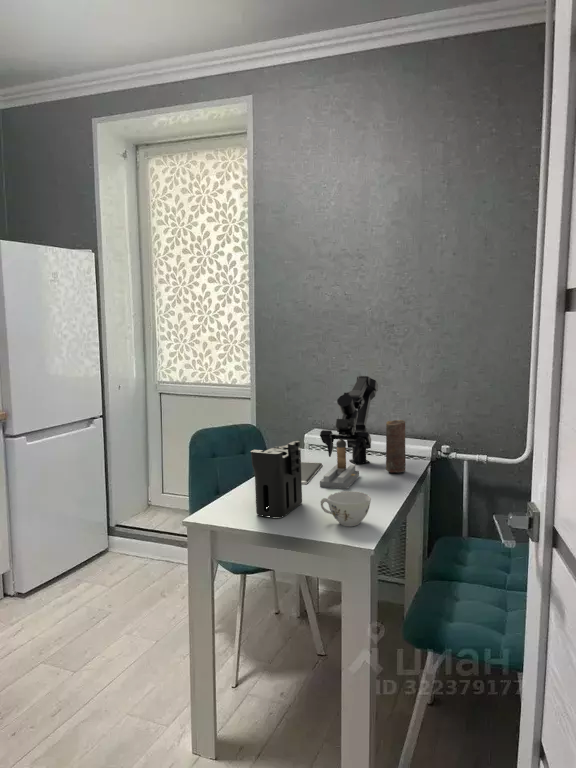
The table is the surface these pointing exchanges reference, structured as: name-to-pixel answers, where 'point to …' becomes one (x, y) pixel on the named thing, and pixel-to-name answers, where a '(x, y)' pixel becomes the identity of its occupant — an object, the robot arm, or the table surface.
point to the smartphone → (309, 471)
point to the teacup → (348, 507)
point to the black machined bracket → (277, 479)
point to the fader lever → (341, 456)
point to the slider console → (339, 478)
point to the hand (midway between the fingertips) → (341, 457)
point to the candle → (395, 446)
